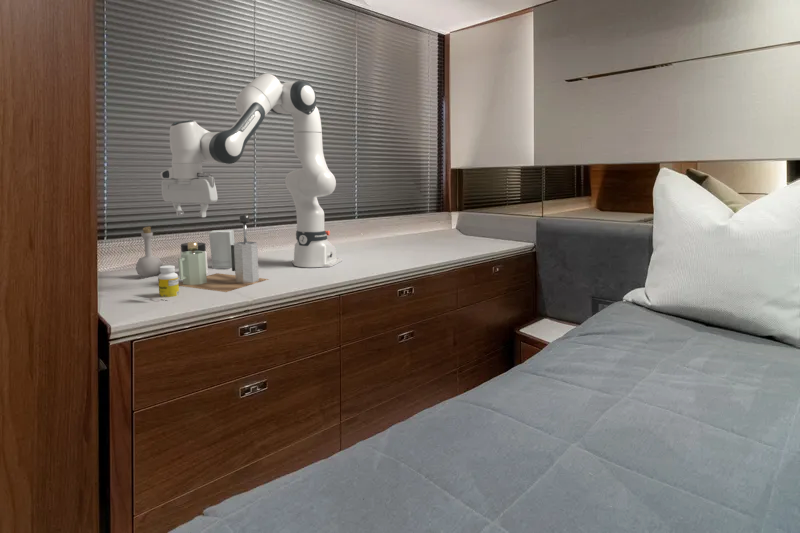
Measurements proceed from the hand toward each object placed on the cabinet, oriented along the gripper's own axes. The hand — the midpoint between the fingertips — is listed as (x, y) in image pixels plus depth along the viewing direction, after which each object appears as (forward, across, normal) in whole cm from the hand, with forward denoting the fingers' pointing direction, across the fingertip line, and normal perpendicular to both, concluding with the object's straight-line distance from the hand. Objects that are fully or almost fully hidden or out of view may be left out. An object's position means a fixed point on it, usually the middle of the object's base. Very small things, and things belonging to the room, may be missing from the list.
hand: (191, 216), depth 160 cm
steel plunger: (+11, -14, -9) cm, 20 cm away
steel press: (+22, -13, -8) cm, 27 cm away
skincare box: (+24, +14, -28) cm, 40 cm away
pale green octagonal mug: (+22, 0, +2) cm, 22 cm away
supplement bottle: (+23, -6, +17) cm, 29 cm away
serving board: (+23, -7, -4) cm, 24 cm away
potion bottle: (+23, +25, -3) cm, 34 cm away
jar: (+23, +11, -10) cm, 28 cm away
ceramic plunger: (+18, 0, +1) cm, 19 cm away
